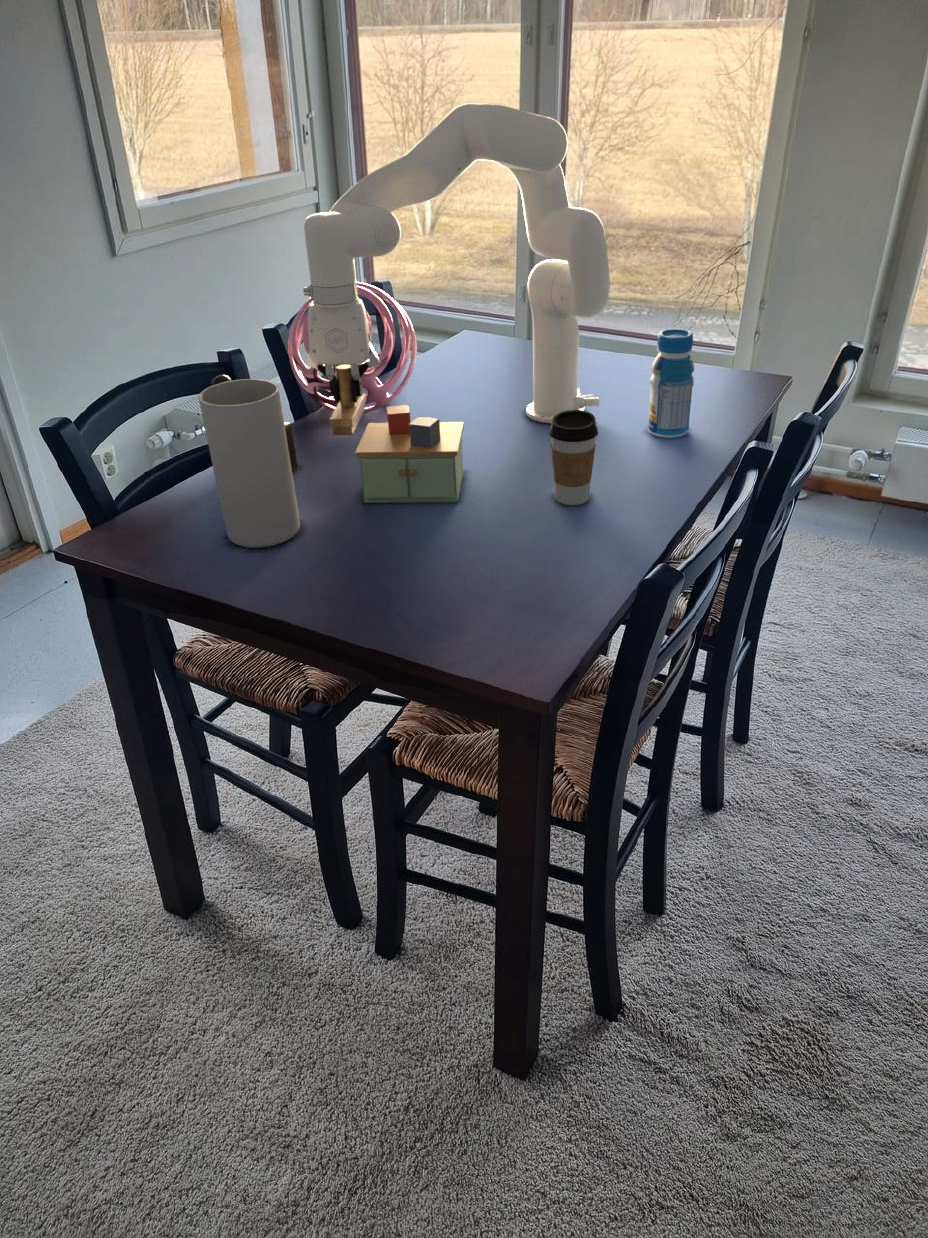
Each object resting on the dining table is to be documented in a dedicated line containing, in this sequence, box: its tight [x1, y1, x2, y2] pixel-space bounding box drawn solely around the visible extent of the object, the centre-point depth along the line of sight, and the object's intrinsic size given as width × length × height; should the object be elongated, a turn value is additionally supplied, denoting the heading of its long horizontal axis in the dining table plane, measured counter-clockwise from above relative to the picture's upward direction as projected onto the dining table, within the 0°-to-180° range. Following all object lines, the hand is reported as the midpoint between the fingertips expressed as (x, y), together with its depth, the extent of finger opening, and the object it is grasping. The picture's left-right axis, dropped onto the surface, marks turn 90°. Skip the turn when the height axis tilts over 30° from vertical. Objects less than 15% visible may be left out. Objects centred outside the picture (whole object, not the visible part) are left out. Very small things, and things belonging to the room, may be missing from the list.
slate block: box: [409, 415, 441, 448], centre depth 165 cm, size 4×4×4 cm
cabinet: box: [354, 421, 465, 504], centre depth 171 cm, size 18×15×10 cm
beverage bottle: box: [647, 328, 695, 439], centre depth 186 cm, size 8×8×20 cm
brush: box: [329, 365, 367, 436], centre depth 165 cm, size 4×13×10 cm, turn 175°
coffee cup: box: [548, 410, 599, 506], centre depth 163 cm, size 8×8×15 cm
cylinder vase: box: [198, 378, 301, 549], centre depth 154 cm, size 12×12×25 cm
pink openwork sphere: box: [287, 281, 418, 415], centre depth 205 cm, size 28×28×27 cm
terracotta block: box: [385, 404, 412, 435], centre depth 170 cm, size 4×4×4 cm
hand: (347, 399), depth 165 cm, fingers closed on brush, 2 cm apart
